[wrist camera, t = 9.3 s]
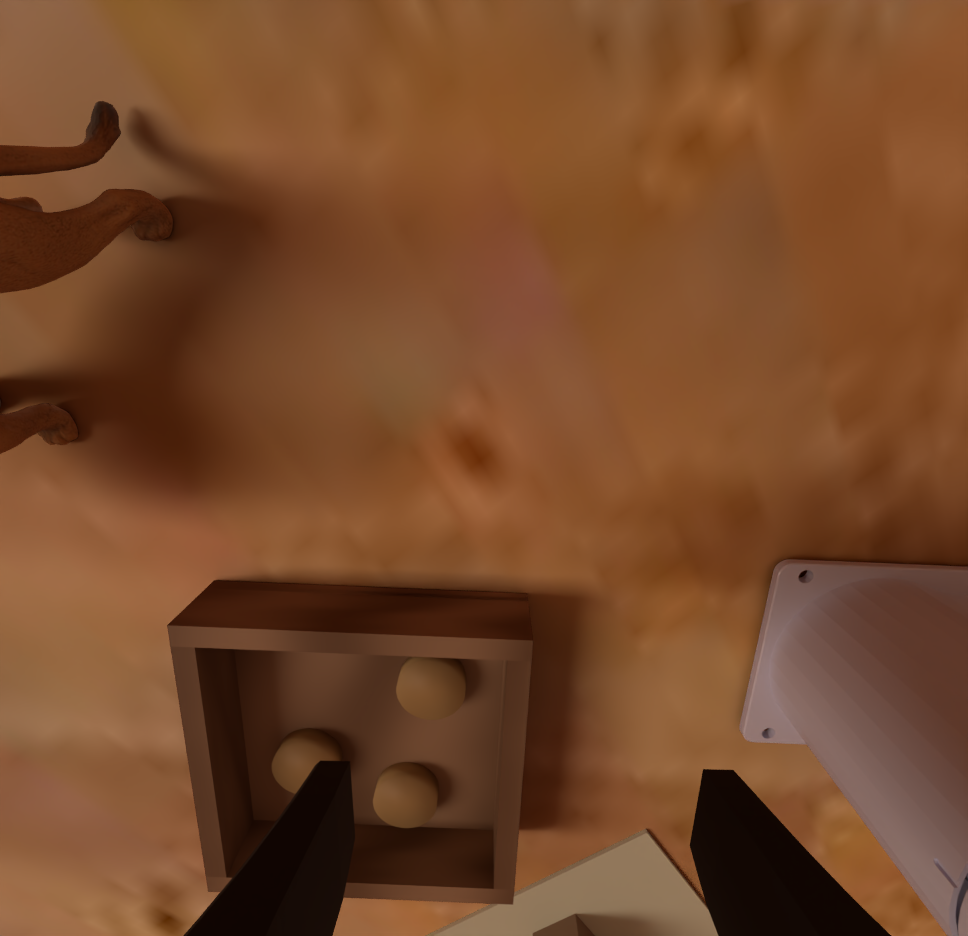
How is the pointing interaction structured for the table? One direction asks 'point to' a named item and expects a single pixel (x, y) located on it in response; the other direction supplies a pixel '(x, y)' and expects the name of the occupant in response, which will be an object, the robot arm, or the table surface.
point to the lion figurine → (64, 244)
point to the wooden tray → (361, 726)
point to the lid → (599, 899)
